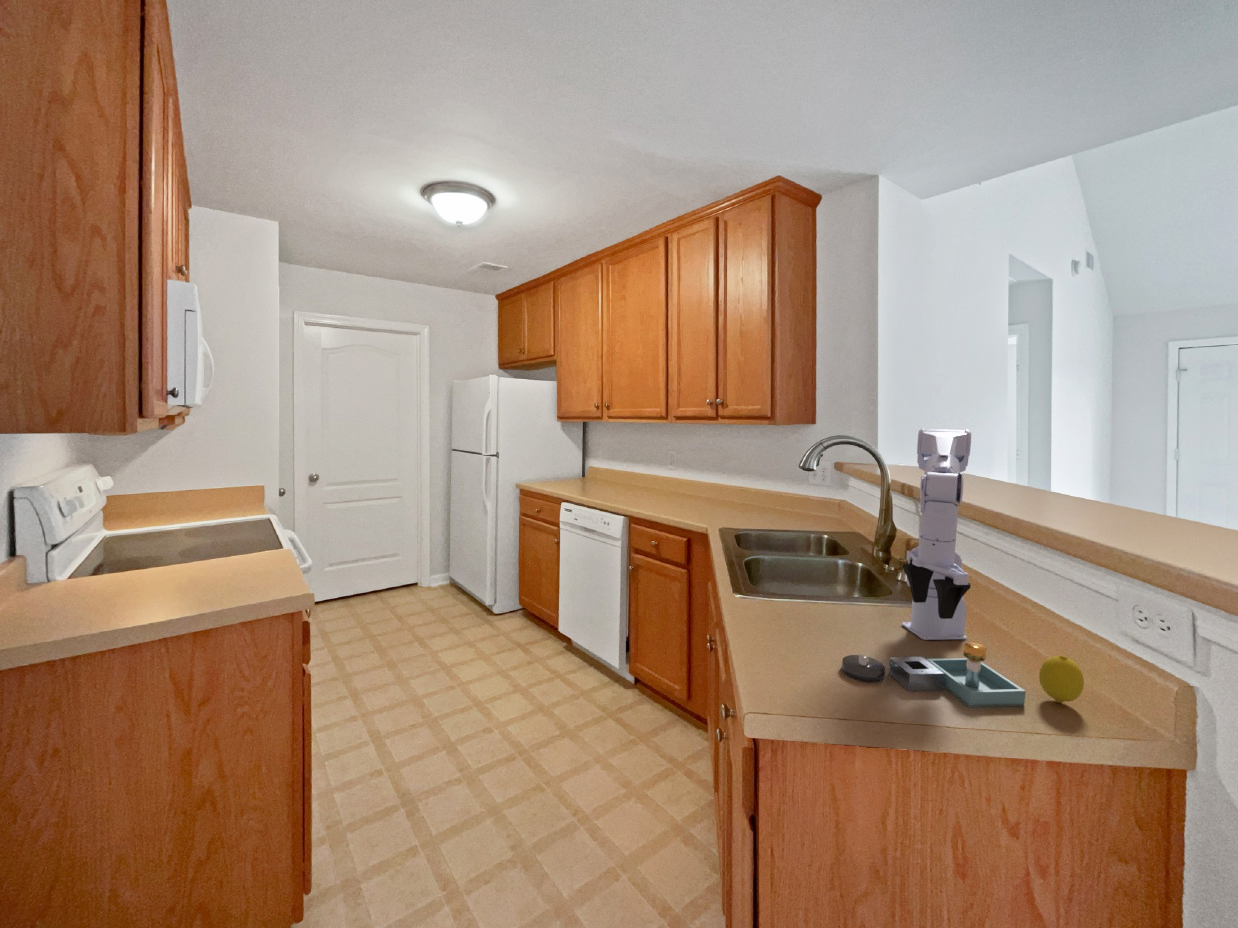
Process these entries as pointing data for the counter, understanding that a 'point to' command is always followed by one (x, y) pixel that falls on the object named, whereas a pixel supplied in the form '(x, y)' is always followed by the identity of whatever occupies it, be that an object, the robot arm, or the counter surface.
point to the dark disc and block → (895, 671)
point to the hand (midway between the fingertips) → (932, 609)
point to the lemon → (1061, 679)
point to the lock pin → (973, 663)
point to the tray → (990, 689)
